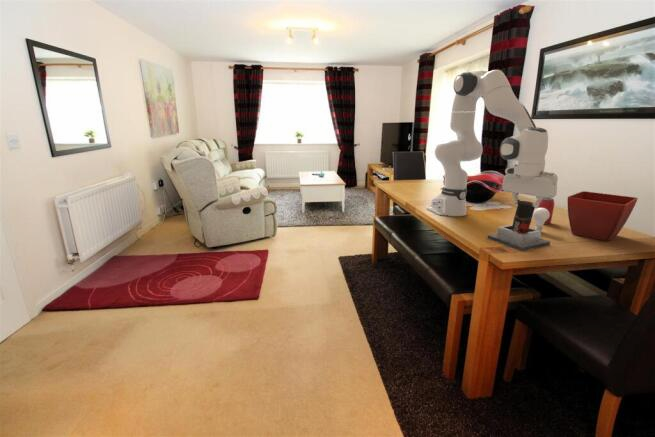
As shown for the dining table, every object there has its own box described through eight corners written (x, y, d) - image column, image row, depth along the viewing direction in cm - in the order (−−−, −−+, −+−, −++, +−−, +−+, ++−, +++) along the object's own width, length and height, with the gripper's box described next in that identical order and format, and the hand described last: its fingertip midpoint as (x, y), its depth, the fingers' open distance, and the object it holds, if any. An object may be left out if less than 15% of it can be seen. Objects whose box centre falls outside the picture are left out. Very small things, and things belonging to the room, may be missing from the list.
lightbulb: (548, 231, 143) (553, 208, 140) (542, 234, 140) (547, 210, 137) (533, 228, 148) (537, 205, 145) (527, 230, 145) (531, 207, 142)
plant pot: (559, 233, 141) (566, 196, 136) (575, 225, 152) (582, 190, 147) (614, 246, 126) (625, 204, 121) (628, 236, 137) (638, 197, 132)
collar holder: (487, 238, 136) (488, 226, 135) (513, 233, 142) (515, 221, 141) (521, 251, 122) (524, 237, 121) (549, 244, 128) (552, 231, 126)
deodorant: (507, 237, 132) (516, 202, 126) (512, 233, 136) (520, 199, 130) (523, 241, 128) (533, 206, 122) (527, 237, 132) (537, 203, 126)
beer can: (553, 224, 153) (558, 200, 149) (538, 224, 154) (542, 200, 151) (547, 220, 159) (551, 197, 156) (532, 220, 160) (536, 197, 157)
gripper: (563, 172, 115) (557, 209, 119) (512, 168, 133) (508, 200, 137) (552, 173, 113) (546, 211, 116) (501, 169, 131) (498, 201, 135)
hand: (525, 205), depth 127 cm, fingers open, 6 cm apart
